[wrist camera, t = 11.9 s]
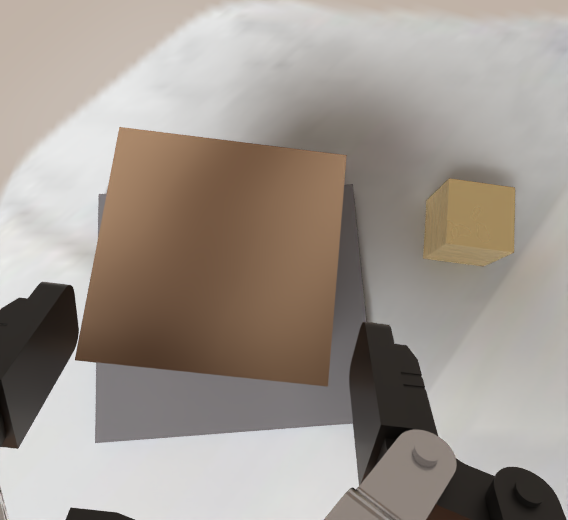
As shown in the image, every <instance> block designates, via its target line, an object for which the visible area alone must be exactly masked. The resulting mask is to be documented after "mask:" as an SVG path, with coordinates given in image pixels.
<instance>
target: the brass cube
mask: <svg viewBox="0 0 568 520" xmlns="http://www.w3.org/2000/svg"><path fill="white" fill-rule="evenodd" d="M514 222H515V188H514V187H507V186H500V185H493V184H486V183H479V182H471V181H464V180H457V179H450V178H449V179H448V180H447V181H446V182H445V183H444V184H443V185H442V186H441V187H440V188H439V189H438V190H437V191H436V192H435V193H434V194H433V195H432V196H431V197H430V198H429V199H427V202H426V219H425V236H424V252H423V259H431V260H438V261H446V262H453V263H461V264H468V265H476V266H486V265H488V264H490V263H492V262H494V261H497V260H499V259H501V258H503V257H505V256H508V255H510V254H512V253H514Z"/></svg>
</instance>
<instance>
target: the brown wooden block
mask: <svg viewBox="0 0 568 520" xmlns="http://www.w3.org/2000/svg"><path fill="white" fill-rule="evenodd" d="M346 156H347V155H340V154H332V153H324V152H316V151H308V150H300V149H292V148H284V147H276V146H268V145H260V144H252V143H244V142H236V141H228V140H219V139H211V138H203V137H195V136H187V135H179V134H171V133H163V132H155V131H147V130H139V129H131V128H123V127H119V133H118V138H117V143H116V148H115V154H114V159H113V164H112V169H111V174H110V180H109V185H108V190H107V195H106V200H105V206H104V211H103V216H102V221H101V226H100V232H99V237H98V242H97V247H96V253H95V258H94V263H93V268H92V273H91V279H90V284H89V289H88V294H87V299H86V305H85V310H84V315H83V320H82V325H81V331H80V336H79V341H78V346H77V352H76V357H75V360H78V361H88V362H97V363H107V364H117V365H126V366H136V367H145V368H155V369H164V370H174V371H184V372H193V373H203V374H212V375H222V376H231V377H241V378H251V379H260V380H270V381H279V382H289V383H298V384H308V385H318V386H327V387H328V380H329V368H330V355H331V343H332V330H333V318H334V305H335V293H336V280H337V268H338V256H339V243H340V231H341V218H342V206H343V193H344V181H345V168H346Z"/></svg>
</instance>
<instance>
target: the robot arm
mask: <svg viewBox="0 0 568 520" xmlns="http://www.w3.org/2000/svg"><path fill="white" fill-rule="evenodd" d="M78 333H79V328H78V319H77V311H76V303H75V294H74V289H73V287H72V286H71V285H65V284H57V283H49V282H41V283H40V284H39V285H38V286H37V288H36V289H35V290H34V291H33V293H32V294H31V295H30V296H29V298H28V299H26V298H18V299H16V300H15V301H13V302H11V303H10V304H8V305H6V306H5V307H3V308H2V309H1V310H0V447H8V448H17V449H18V448H19V446H20V444H21V443H22V441H23V439H24V437H25V436H26V434H27V432H28V430H29V429H30V427H31V425H32V423H33V422H34V420H35V418H36V416H37V415H38V413H39V411H40V409H41V407H42V406H43V404H44V402H45V400H46V399H47V397H48V395H49V393H50V392H51V390H52V388H53V386H54V385H55V383H56V381H57V379H58V378H59V376H60V374H61V372H62V371H63V369H64V367H65V365H66V364H67V362H68V360H69V358H70V357H71V355H72V353H73V351H74V349H75V347H76V344H77V340H78ZM421 375H422V374H421V371H420V367H419V363H418V360H417V358H416V357H415V356H414V354H413V353H412V352H411V351H410V349H409V348H408V347H407V345H398V344H394V340H393V336H392V331H391V327H390V326H389V325H385V324H377V323H369V322H362V324H361V327H360V330H359V334H358V338H357V341H356V345H355V349H354V353H353V356H352V360H351V365H350V373H349V387H350V397H351V407H352V417H353V427H354V438H355V448H356V458H357V468H358V478H359V487H358V488H357V489H354V488H351V489H349V490H348V491H347V492H346V493H345V494H344V496H343V497H342V498H341V499H340V501H339V502H338V503H337V504H336V505H335V507H334V508H333V509H332V510H331V512H330V513H329V514H328V515H327V516H326V518H325V519H324V520H566V517H565V515H564V512H563V510H562V507H561V504H560V502H559V500H558V497H557V495H556V494H555V492H554V491H553V489H552V488H551V487H550V486H549V485H548V484H547V483H546V482H545V481H544V480H543V479H541V478H540V477H539V476H537V475H536V474H534V473H532V472H530V471H528V470H525V469H523V468H518V467H506V468H503V469H501V470H500V471H499V472H498V473H497V474H496V476H493V475H490V474H488V473H485V472H483V471H480V470H478V469H475V468H473V467H470V466H468V465H466V464H464V463H462V462H461V461H459V460H458V459H456V458H455V455H454V453H453V451H452V449H451V448H450V447H449V445H448V444H447V443H446V442H445V441H444V440H442V439H441V438H440V437H438V434H437V430H436V427H435V423H434V419H433V415H432V412H431V408H430V404H429V400H428V397H427V393H426V390H425V386H424V382H423V378H422V377H421ZM0 520H9V518H8V514H7V510H6V506H5V502H4V499H3V495H2V491H1V487H0ZM66 520H134V519H132V518H129V517H127V516H124V515H122V514H119V513H116V512H107V511H97V510H88V509H79V508H70V510H69V513H68V515H67V518H66Z"/></svg>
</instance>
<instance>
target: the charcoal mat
mask: <svg viewBox="0 0 568 520" xmlns="http://www.w3.org/2000/svg"><path fill="white" fill-rule="evenodd" d="M106 195H107V194H99V207H98V237H99V232H100V226H101V221H102V216H103V211H104V206H105V200H106ZM362 322H366V312H365V302H364V292H363V282H362V272H361V262H360V252H359V242H358V232H357V222H356V212H355V202H354V192H353V184H350V185H344V193H343V206H342V218H341V231H340V243H339V256H338V268H337V280H336V293H335V305H334V318H333V330H332V343H331V355H330V368H329V380H328V387H327V386H318V385H308V384H298V383H289V382H279V381H270V380H260V379H251V378H241V377H231V376H222V375H212V374H203V373H193V372H184V371H174V370H164V369H155V368H145V367H136V366H126V365H117V364H107V363H97V362H96V425H95V443H101V442H114V441H127V440H140V439H154V438H167V437H180V436H193V435H206V434H219V433H232V432H245V431H259V430H272V429H285V428H298V427H311V426H324V425H337V424H350V423H353V417H352V407H351V397H350V387H349V373H350V365H351V360H352V356H353V353H354V349H355V345H356V341H357V338H358V334H359V330H360V327H361V324H362Z"/></svg>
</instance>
